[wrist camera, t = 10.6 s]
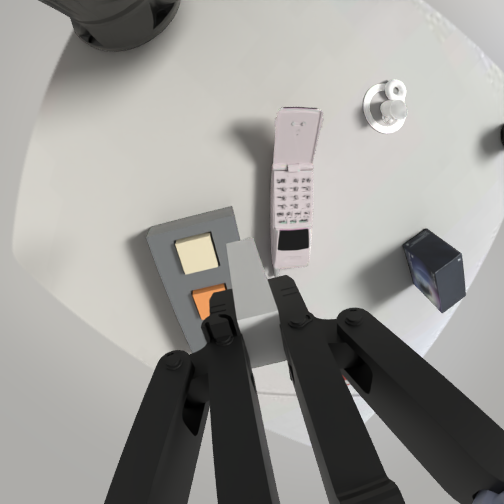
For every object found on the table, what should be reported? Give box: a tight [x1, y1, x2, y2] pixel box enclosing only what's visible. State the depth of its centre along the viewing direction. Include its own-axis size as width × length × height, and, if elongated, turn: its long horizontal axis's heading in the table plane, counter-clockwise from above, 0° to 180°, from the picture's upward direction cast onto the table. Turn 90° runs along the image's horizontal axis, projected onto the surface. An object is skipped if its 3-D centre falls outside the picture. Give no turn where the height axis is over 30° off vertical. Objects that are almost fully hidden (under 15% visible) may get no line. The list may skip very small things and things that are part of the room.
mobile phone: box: [270, 107, 323, 277], centre depth 40 cm, size 6×6×25 cm
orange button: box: [193, 283, 227, 320], centre depth 45 cm, size 5×5×4 cm
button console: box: [146, 206, 240, 353], centre depth 46 cm, size 24×12×4 cm, turn 12°
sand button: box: [175, 231, 218, 275], centre depth 42 cm, size 5×5×4 cm
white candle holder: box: [363, 79, 407, 134], centre depth 37 cm, size 9×8×4 cm
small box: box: [403, 229, 466, 313], centre depth 46 cm, size 11×6×10 cm, turn 32°
